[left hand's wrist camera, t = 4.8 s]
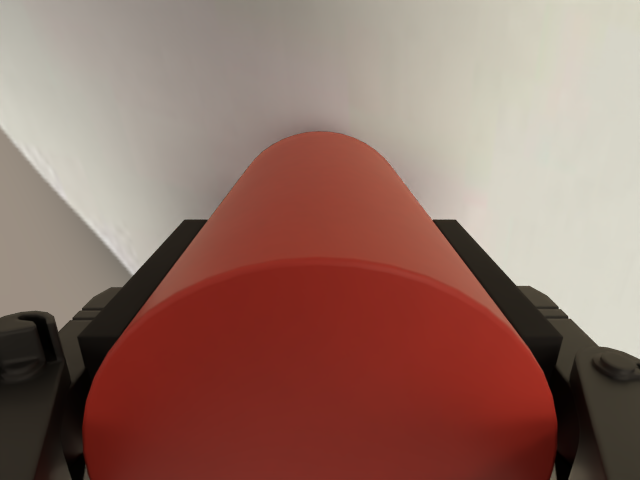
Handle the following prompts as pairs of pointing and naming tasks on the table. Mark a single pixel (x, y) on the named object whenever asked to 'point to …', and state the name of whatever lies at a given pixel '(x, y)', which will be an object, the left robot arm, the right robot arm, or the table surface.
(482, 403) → the canister
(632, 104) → the table surface
